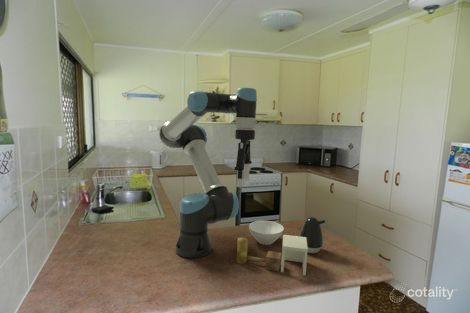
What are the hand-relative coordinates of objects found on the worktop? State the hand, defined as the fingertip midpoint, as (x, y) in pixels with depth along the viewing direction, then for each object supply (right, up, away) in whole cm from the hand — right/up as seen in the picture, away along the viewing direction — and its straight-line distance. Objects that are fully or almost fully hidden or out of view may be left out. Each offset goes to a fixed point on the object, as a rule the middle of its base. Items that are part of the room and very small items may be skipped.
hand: (242, 182), depth 112 cm
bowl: (+11, -29, +19) cm, 36 cm away
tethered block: (+6, -31, -2) cm, 32 cm away
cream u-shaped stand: (+19, -32, -3) cm, 38 cm away
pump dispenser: (+30, -31, +11) cm, 44 cm away
